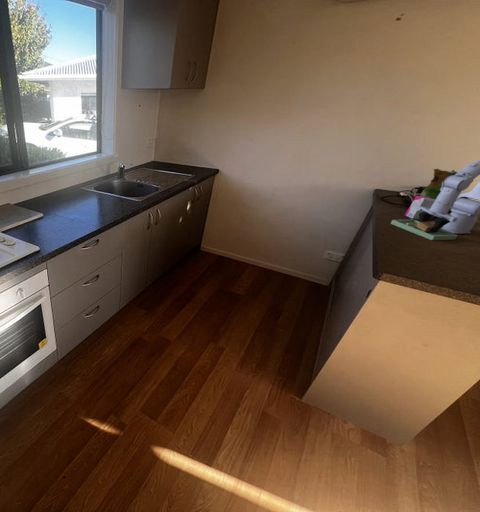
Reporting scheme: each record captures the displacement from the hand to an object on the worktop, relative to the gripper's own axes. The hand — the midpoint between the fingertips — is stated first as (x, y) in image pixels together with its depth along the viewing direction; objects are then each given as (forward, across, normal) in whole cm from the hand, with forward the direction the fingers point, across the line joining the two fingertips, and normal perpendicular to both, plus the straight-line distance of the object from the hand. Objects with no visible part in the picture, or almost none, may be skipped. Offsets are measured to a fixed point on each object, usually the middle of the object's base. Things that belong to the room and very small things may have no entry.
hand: (426, 229), depth 138 cm
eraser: (0, 0, 0) cm, 0 cm away
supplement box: (+2, -18, +15) cm, 23 cm away
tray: (+1, -2, 0) cm, 2 cm away
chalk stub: (0, -8, 0) cm, 8 cm away
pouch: (+2, -21, +26) cm, 33 cm away
